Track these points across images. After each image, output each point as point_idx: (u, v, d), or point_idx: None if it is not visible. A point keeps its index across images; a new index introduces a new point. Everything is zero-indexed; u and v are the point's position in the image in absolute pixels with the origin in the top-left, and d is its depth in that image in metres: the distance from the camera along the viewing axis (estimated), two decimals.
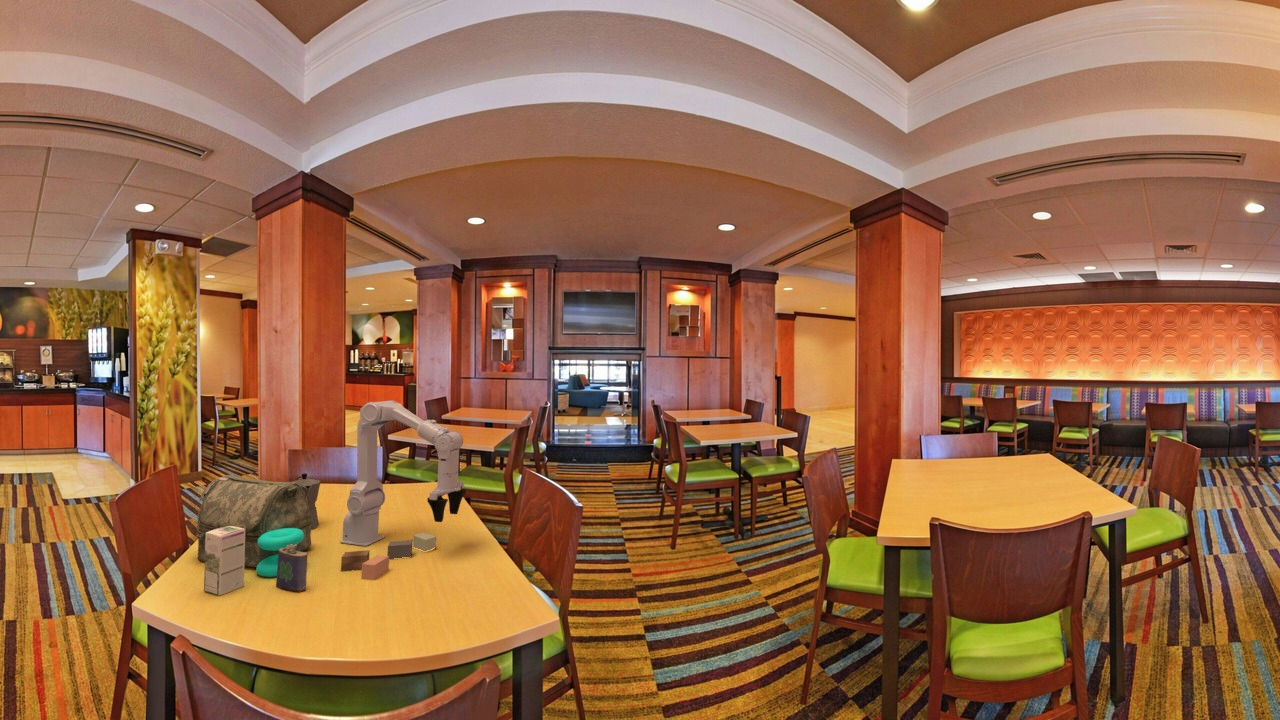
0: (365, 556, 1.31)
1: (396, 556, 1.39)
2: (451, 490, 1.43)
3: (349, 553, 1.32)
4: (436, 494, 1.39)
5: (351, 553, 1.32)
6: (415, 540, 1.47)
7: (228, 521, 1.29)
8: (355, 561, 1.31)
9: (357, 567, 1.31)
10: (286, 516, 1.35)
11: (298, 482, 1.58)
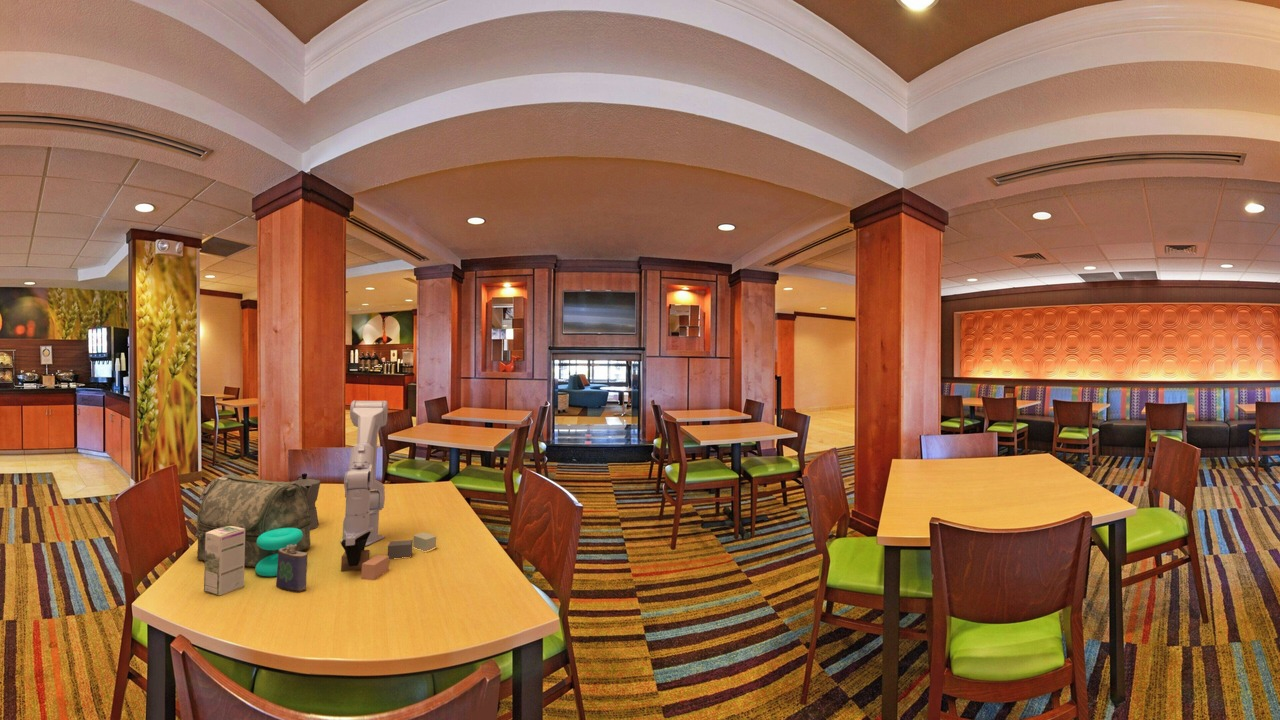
0: (365, 555, 1.31)
1: (396, 556, 1.39)
2: (365, 531, 1.31)
3: None
4: (354, 538, 1.26)
5: None
6: (415, 540, 1.47)
7: (227, 520, 1.29)
8: None
9: (357, 566, 1.31)
10: (285, 515, 1.35)
11: (298, 482, 1.58)
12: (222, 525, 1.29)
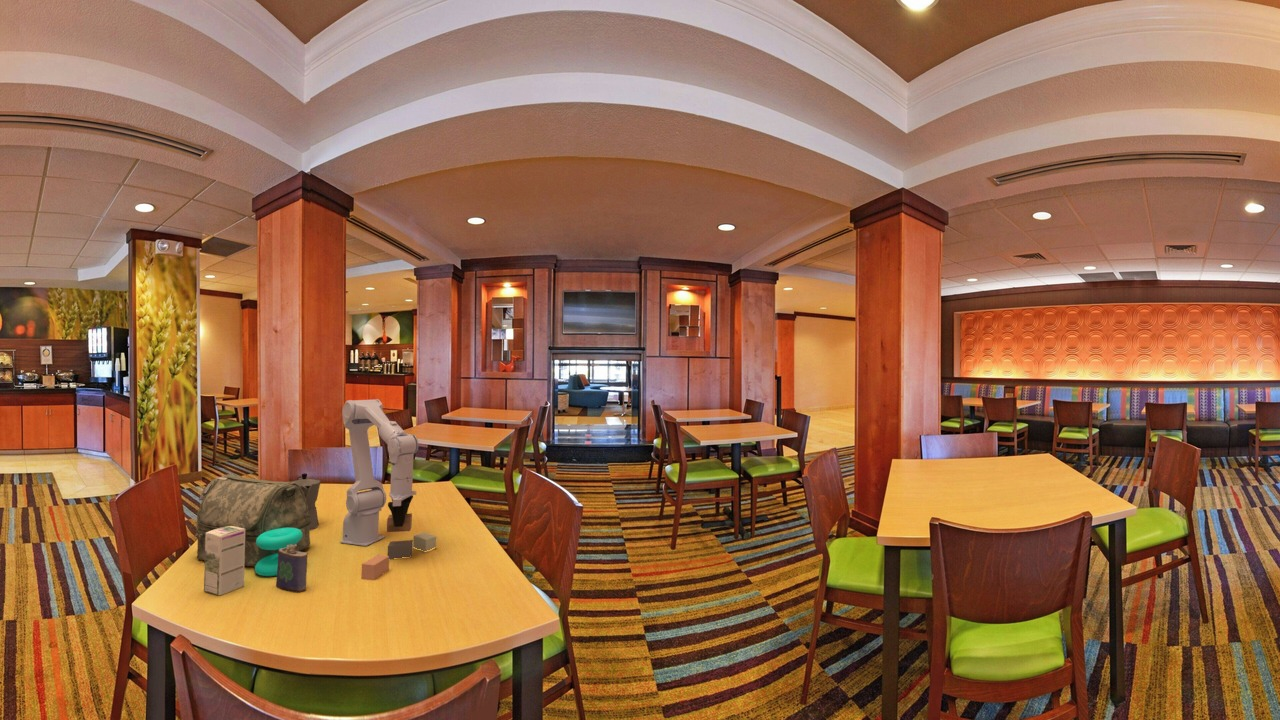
0: (409, 518, 1.40)
1: (396, 556, 1.39)
2: (409, 494, 1.40)
3: None
4: (401, 500, 1.34)
5: None
6: (415, 540, 1.47)
7: (227, 520, 1.30)
8: None
9: (401, 528, 1.39)
10: (285, 515, 1.35)
11: (298, 482, 1.58)
12: (222, 525, 1.30)
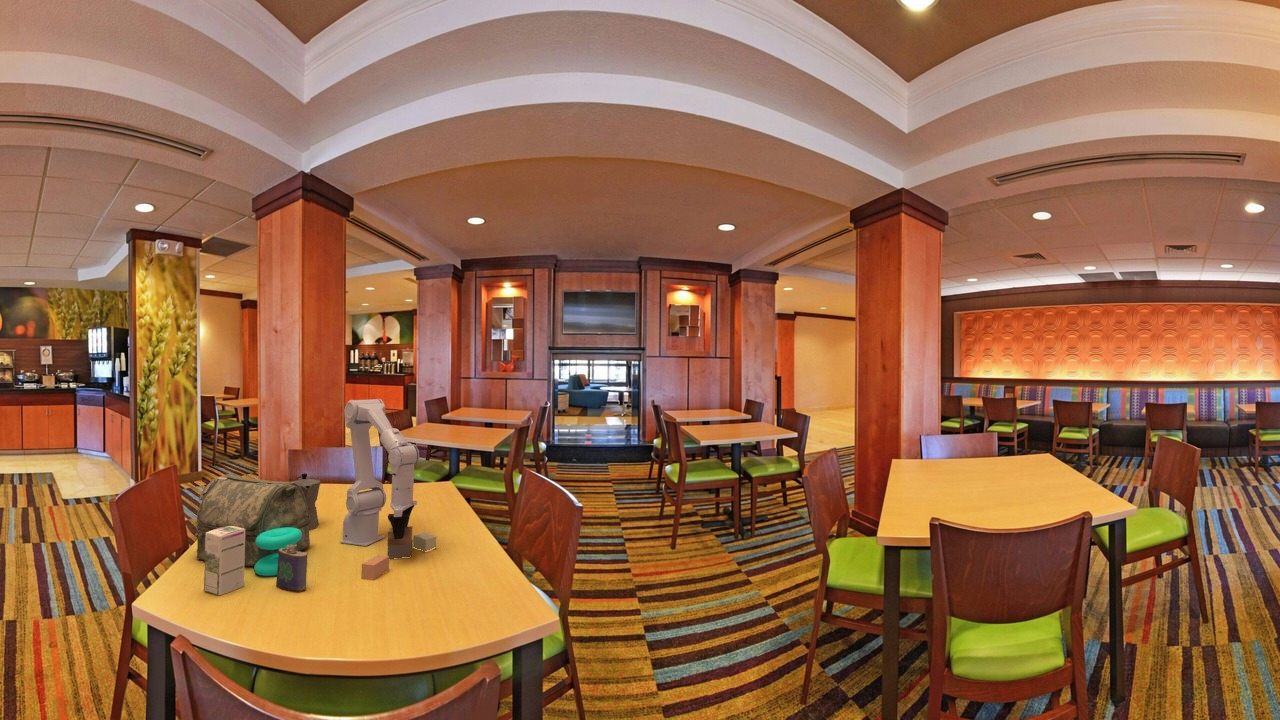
0: (409, 531, 1.40)
1: (396, 556, 1.39)
2: (410, 505, 1.40)
3: None
4: (402, 510, 1.35)
5: None
6: (415, 540, 1.47)
7: (226, 520, 1.30)
8: None
9: (402, 541, 1.39)
10: (285, 515, 1.35)
11: (298, 482, 1.58)
12: (221, 525, 1.30)
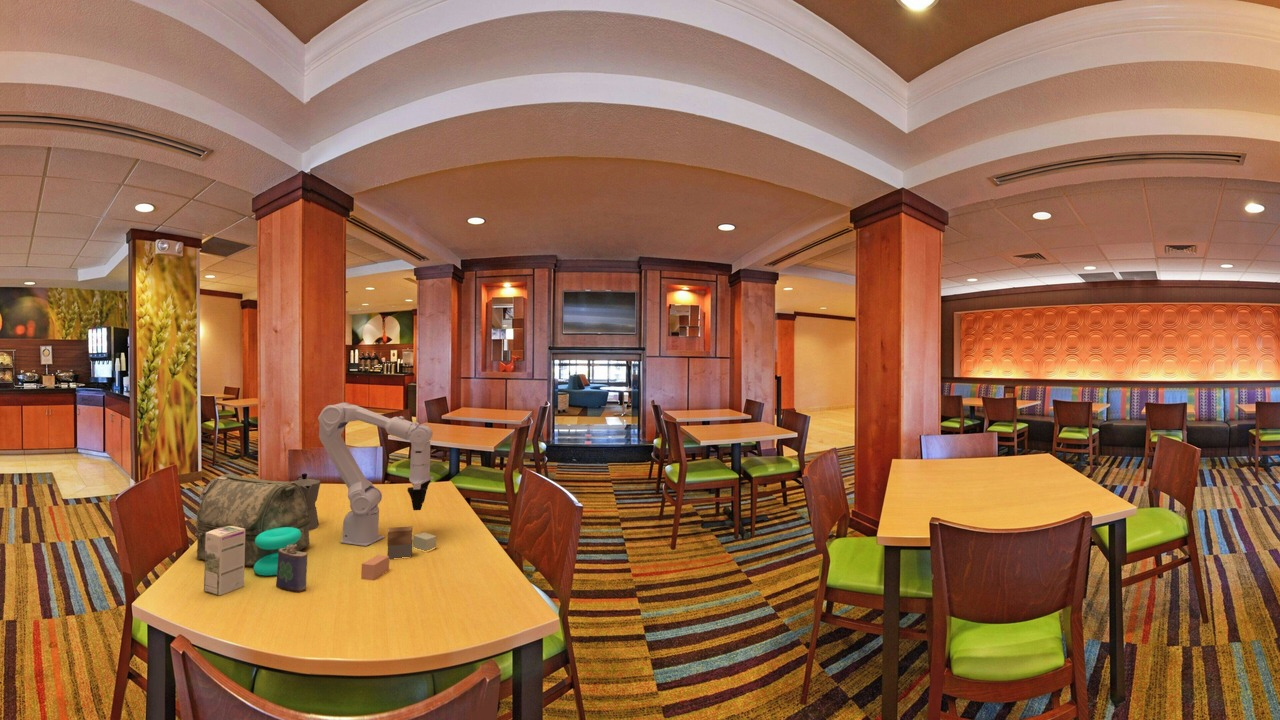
0: (409, 531, 1.40)
1: (396, 556, 1.39)
2: (427, 479, 1.53)
3: (394, 528, 1.41)
4: (420, 483, 1.48)
5: (396, 528, 1.41)
6: (415, 540, 1.46)
7: (226, 520, 1.30)
8: (400, 536, 1.39)
9: (402, 541, 1.39)
10: (284, 515, 1.36)
11: (298, 482, 1.58)
12: (221, 524, 1.30)
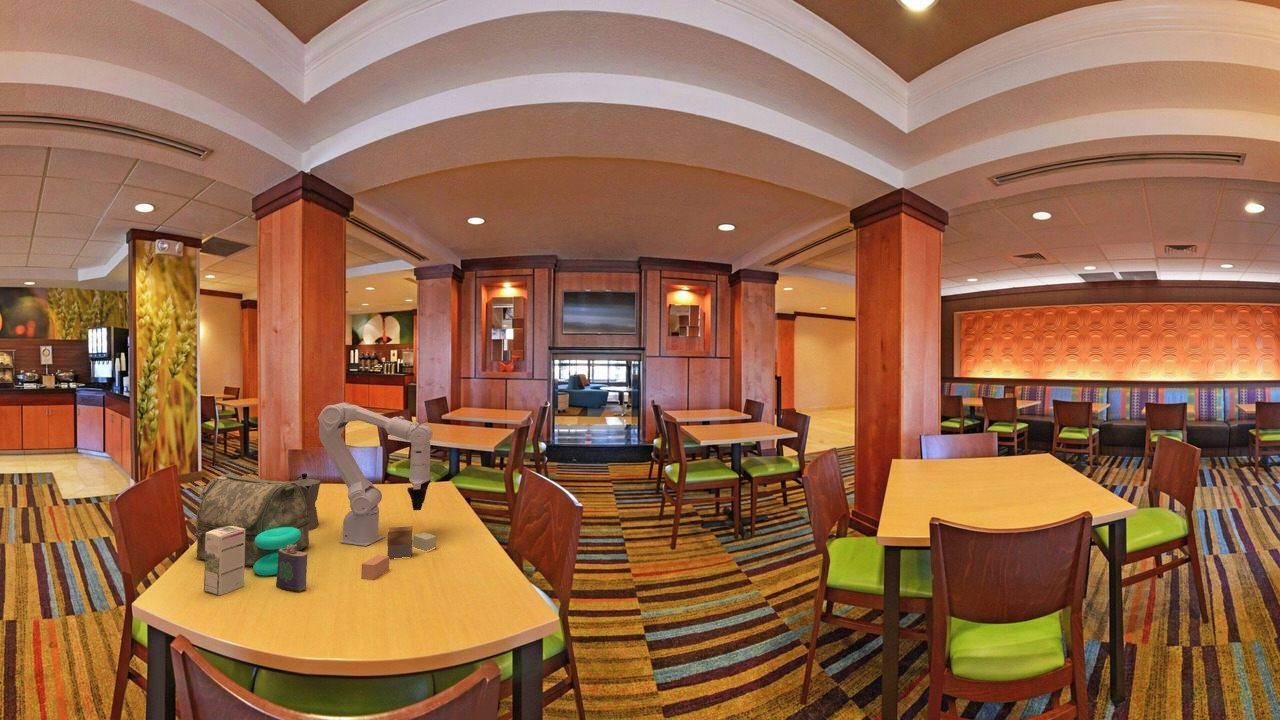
0: (409, 531, 1.40)
1: (396, 556, 1.39)
2: (427, 479, 1.53)
3: (394, 528, 1.41)
4: (420, 483, 1.48)
5: (396, 528, 1.41)
6: (415, 540, 1.46)
7: (226, 520, 1.30)
8: (400, 536, 1.39)
9: (402, 541, 1.39)
10: (284, 515, 1.36)
11: (298, 482, 1.58)
12: (221, 524, 1.30)
